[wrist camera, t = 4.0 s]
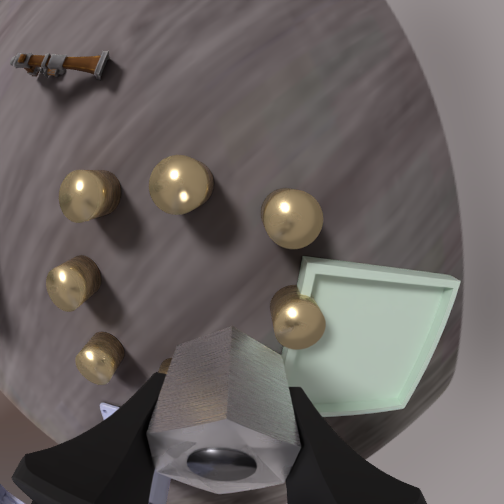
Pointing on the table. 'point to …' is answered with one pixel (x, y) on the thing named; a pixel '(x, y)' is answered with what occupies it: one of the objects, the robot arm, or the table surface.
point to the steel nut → (224, 416)
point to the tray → (368, 334)
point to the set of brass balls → (179, 202)
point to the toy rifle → (60, 63)
